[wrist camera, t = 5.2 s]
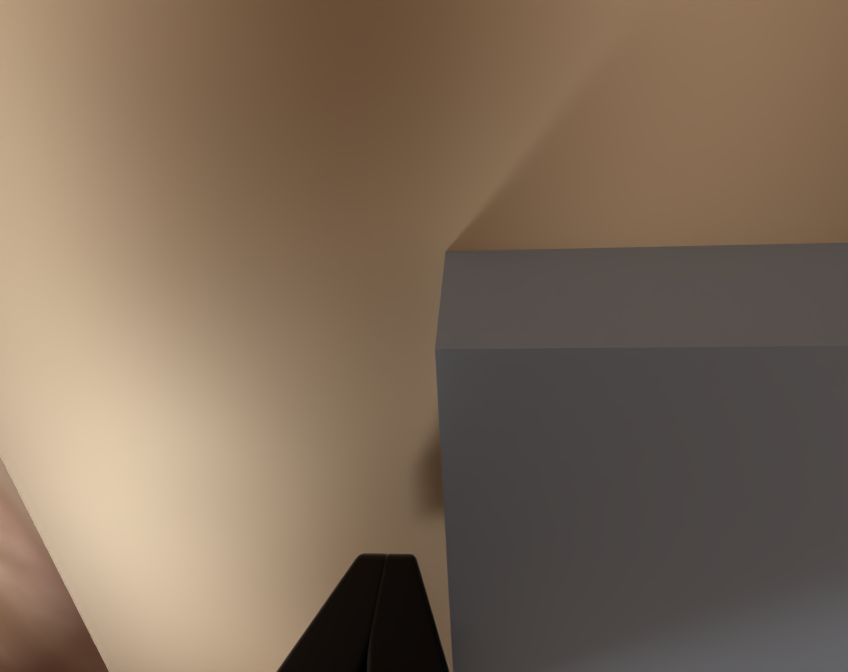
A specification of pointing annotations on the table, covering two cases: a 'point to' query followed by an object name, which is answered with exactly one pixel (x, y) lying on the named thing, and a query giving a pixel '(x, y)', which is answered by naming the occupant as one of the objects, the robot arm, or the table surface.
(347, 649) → the robot arm
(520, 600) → the grey bevelled block
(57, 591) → the table surface
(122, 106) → the wooden block
